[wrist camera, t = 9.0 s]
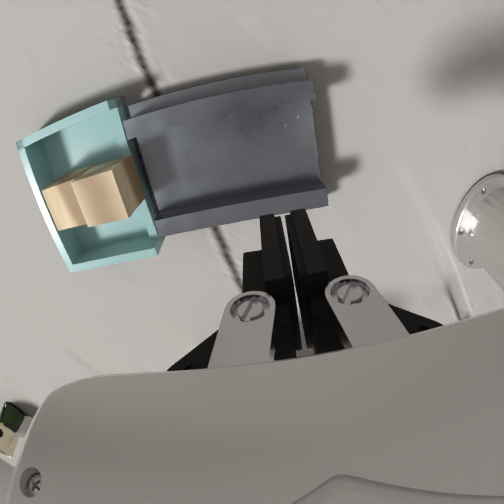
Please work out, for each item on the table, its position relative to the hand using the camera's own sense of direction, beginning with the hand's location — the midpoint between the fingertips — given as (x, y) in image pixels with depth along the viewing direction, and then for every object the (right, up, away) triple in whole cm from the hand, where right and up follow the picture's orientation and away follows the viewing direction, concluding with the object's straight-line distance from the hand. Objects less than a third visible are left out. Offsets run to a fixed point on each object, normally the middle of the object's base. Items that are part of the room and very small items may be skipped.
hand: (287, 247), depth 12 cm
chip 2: (-13, +6, +13) cm, 19 cm away
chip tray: (-16, +6, +15) cm, 23 cm away
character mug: (-59, -38, +41) cm, 82 cm away
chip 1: (-15, +5, +13) cm, 20 cm away
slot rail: (-3, +9, +14) cm, 17 cm away
